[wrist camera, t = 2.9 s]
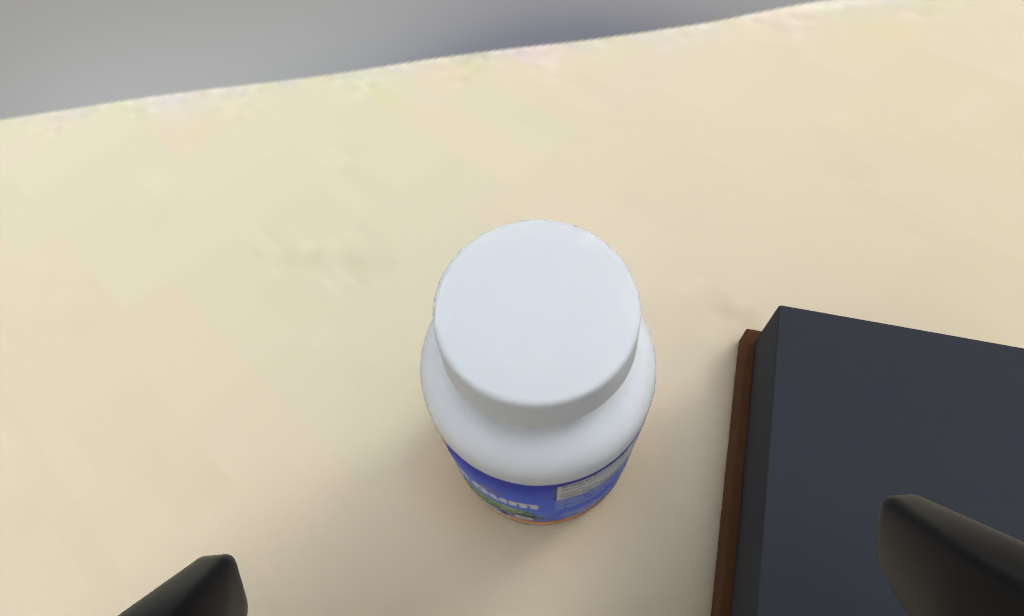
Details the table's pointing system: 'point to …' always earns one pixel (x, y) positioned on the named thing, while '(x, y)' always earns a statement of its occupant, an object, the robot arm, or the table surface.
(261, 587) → the table surface
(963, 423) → the blackboard eraser
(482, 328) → the pill bottle
